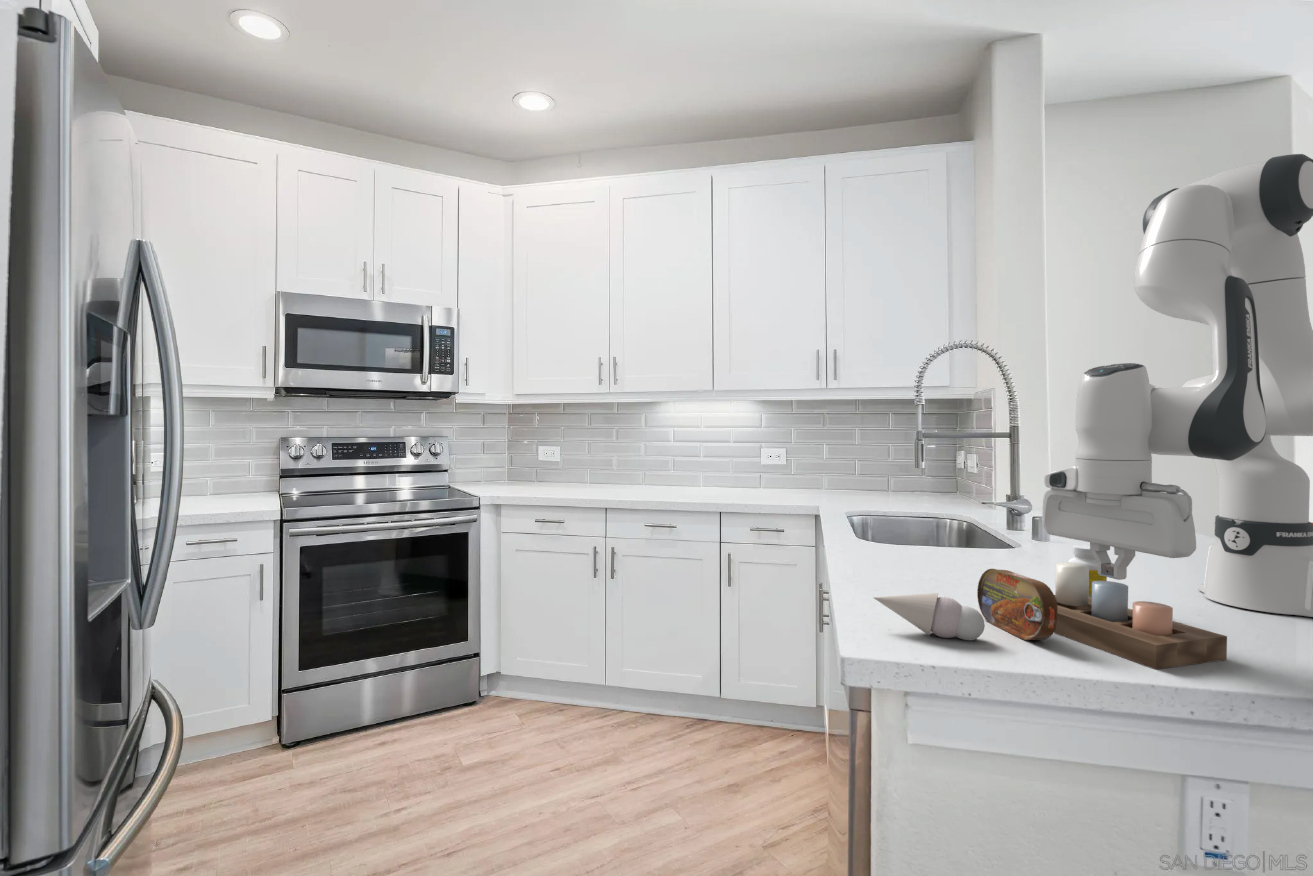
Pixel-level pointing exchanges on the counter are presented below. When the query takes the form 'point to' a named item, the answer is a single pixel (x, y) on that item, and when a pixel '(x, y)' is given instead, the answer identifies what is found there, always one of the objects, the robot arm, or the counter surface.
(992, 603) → the tin
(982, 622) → the ice cream cone
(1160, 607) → the salmon pink cylinder
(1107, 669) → the counter surface
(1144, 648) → the wooden spice rack
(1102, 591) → the key slate
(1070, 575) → the key ivory
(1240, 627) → the counter surface
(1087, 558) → the supplement bottle
